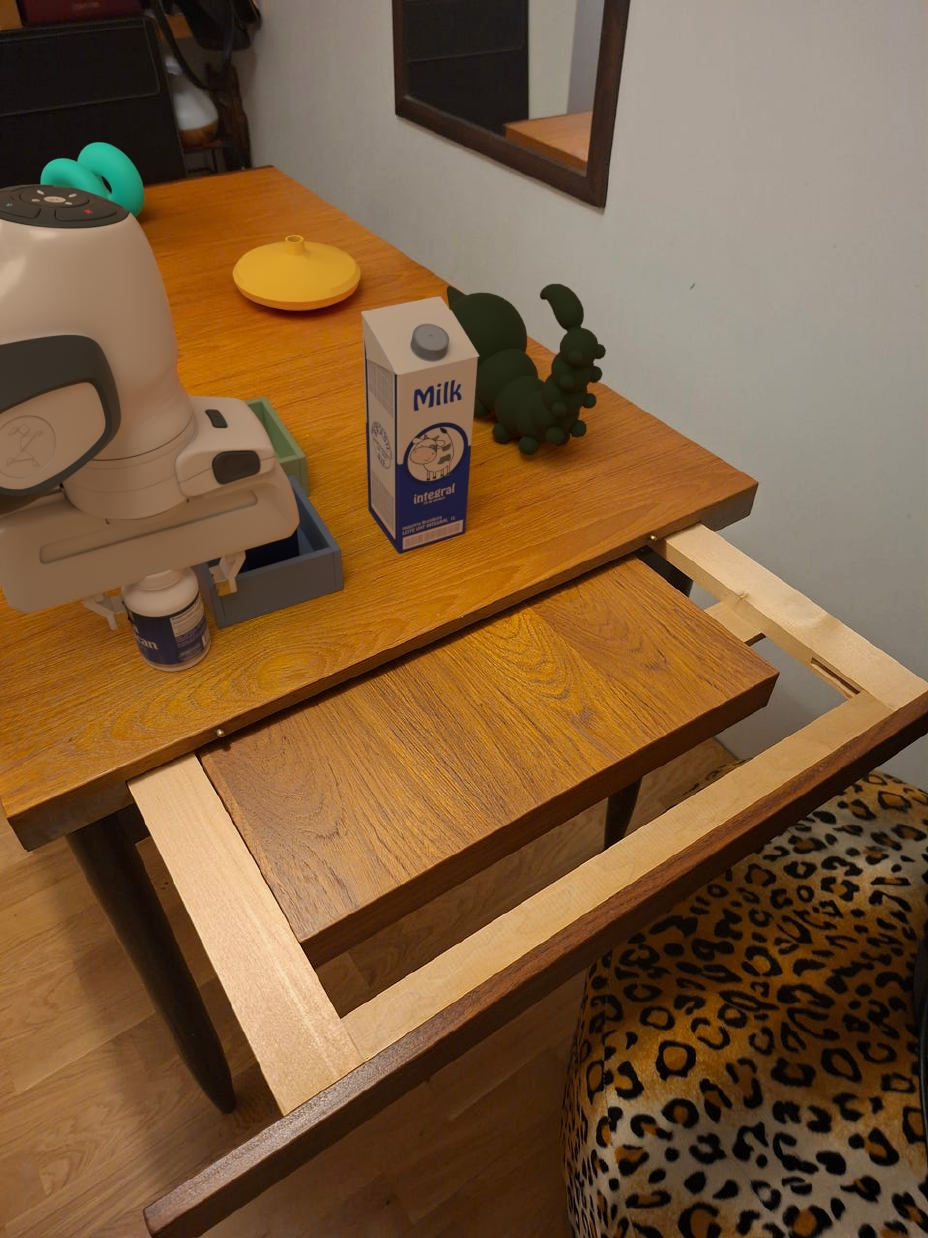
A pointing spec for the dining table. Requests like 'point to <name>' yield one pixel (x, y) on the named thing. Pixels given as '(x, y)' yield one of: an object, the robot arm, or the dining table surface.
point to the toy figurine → (529, 368)
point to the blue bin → (280, 573)
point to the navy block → (270, 553)
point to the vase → (296, 275)
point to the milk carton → (418, 420)
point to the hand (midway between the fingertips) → (173, 605)
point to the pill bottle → (168, 619)
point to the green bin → (281, 441)
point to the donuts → (99, 175)
